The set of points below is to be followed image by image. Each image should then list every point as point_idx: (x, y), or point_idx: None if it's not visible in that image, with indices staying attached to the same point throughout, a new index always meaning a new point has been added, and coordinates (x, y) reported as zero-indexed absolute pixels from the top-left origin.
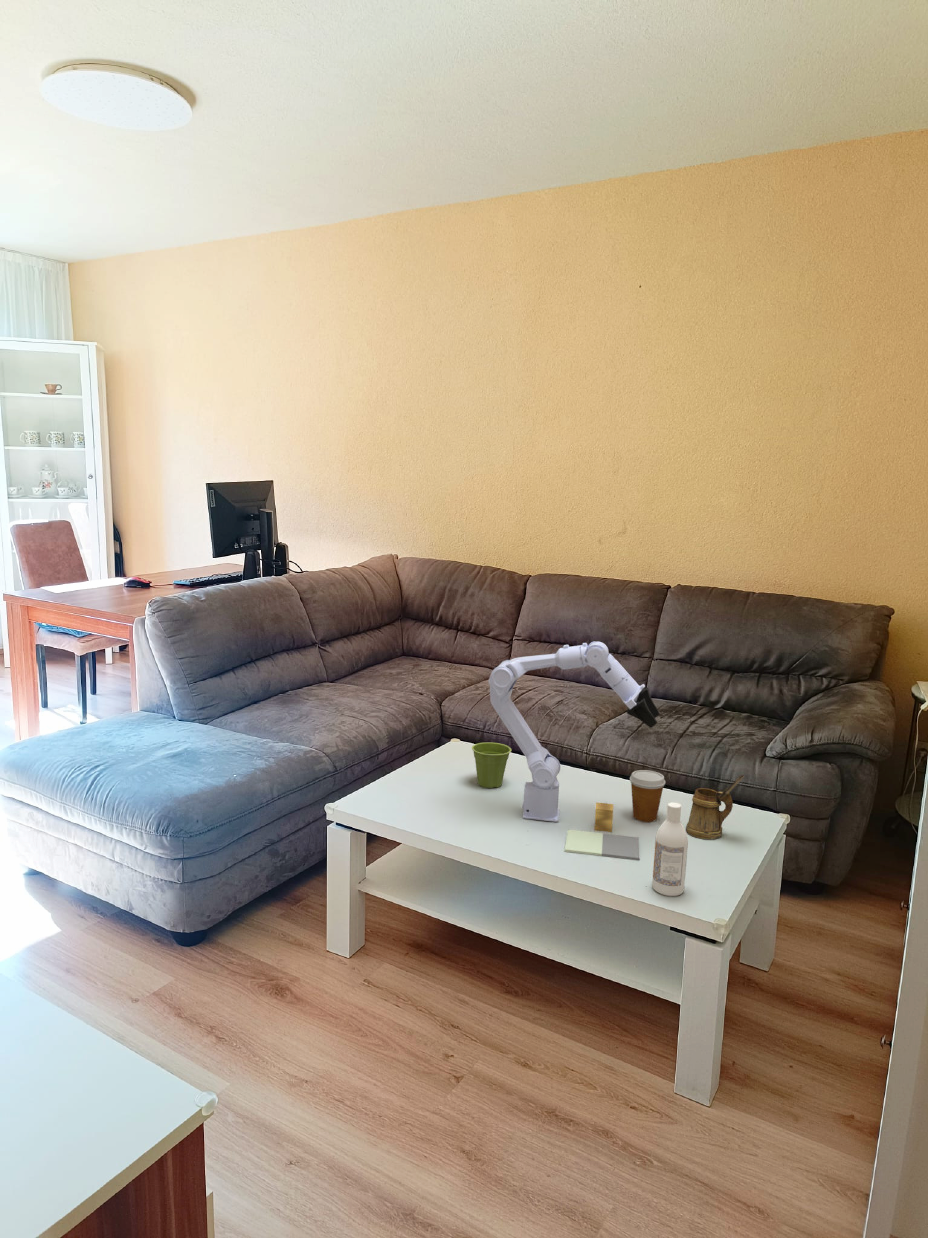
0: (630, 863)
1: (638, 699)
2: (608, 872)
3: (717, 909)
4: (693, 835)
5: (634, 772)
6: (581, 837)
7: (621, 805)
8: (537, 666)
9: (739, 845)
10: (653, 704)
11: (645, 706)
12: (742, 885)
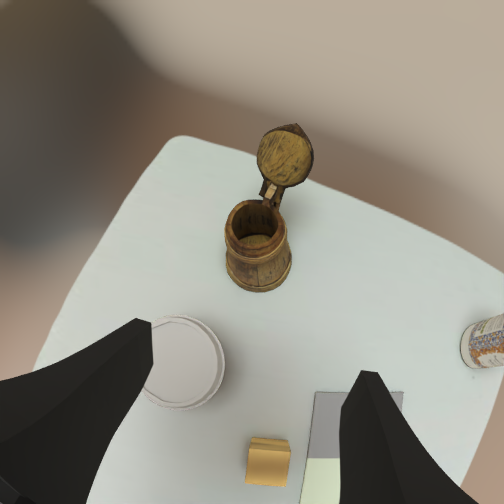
0: (413, 406)
1: (60, 497)
2: (444, 435)
3: (499, 284)
4: (282, 281)
5: (152, 395)
6: (332, 492)
7: (143, 400)
8: None
9: (302, 209)
10: (101, 368)
11: (467, 497)
12: (437, 238)
